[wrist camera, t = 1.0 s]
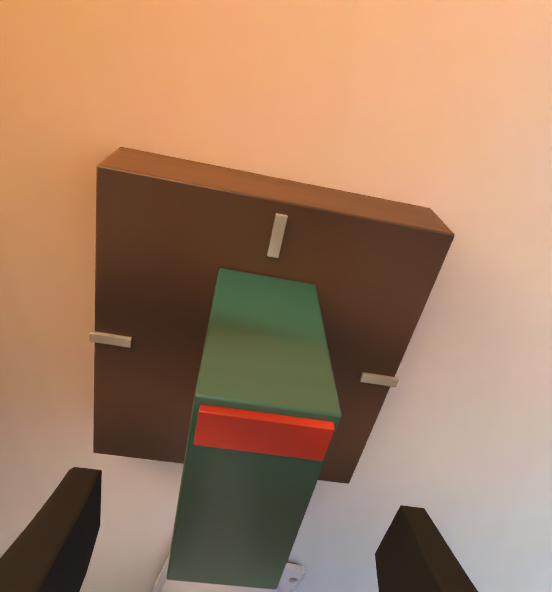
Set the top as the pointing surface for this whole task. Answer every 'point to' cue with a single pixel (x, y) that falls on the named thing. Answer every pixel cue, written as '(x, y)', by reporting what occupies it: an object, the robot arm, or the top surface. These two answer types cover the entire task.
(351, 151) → the top surface
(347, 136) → the top surface
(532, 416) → the top surface
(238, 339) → the tin
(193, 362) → the stand
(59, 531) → the robot arm
